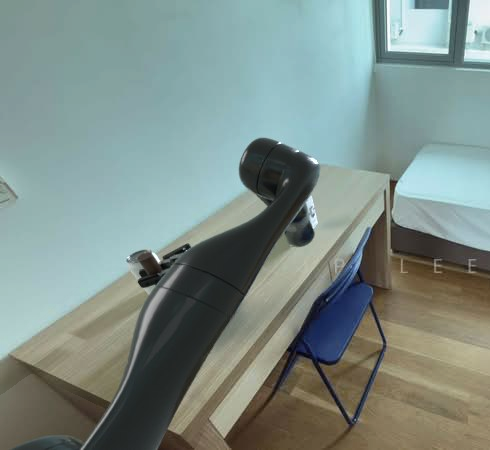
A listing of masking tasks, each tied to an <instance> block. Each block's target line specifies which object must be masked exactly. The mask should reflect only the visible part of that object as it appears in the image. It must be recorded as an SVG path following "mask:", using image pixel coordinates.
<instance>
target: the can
mask: <svg viewBox="0 0 490 450" xmlns="http://www.w3.org/2000/svg"><path fill="white" fill-rule="evenodd" d="M148 252H150V253H152V254H153V256H154V257H155V259H156V260H157V262H158V263H159V262H160V261H161V260H160V258H159V257H158V254H157V253H155V252H153V251H152V250H151V249H147V248H146V249H140V250H136V251H135V252H133V253H131V254H130V255H129V256H127V258H126V263H127V268H128V270H129V271H130V272H131V273H132V275H133V276H134V277H135V279H136V281H138V279H139V278H142V277H141V276H140V274H139V270H141V269H144V268H143V267H142V266H141V264H140V263H139V261H138V260H137V258H138V257H139V256H140V255H142V254H144V253H148ZM155 286H156V285H152V286H149V287H146V288H143V290H144V291H145V292H146V294H147V296H149V294H150V293H151V292H152V290H153V289H154V287H155Z"/></svg>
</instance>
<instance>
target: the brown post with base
mask: <svg viewBox="0 0 490 450" xmlns="http://www.w3.org/2000/svg"><path fill="white" fill-rule="evenodd" d="M137 260H138V261H139V263H140V264H141V266H142V267H143V268H144V270H145V271H146V273H147V274H148V275H151V274H154V273H157V272H158V273H159V272H161V271H163V269H162V268H161V266H160V265H159V263H158V262H157V260H156V259H155V257H154V256H153V254H152V253H150V252H148V253H144V254H142V255H140V256H139V257H138V258H137ZM155 285H157V284H155Z"/></svg>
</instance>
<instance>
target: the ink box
mask: <svg viewBox="0 0 490 450" xmlns="http://www.w3.org/2000/svg"><path fill="white" fill-rule="evenodd" d="M306 204H307V207H308V212H309V219H310V222H311V224H312V227H313V229H314V230H315V228H316V227H317V226H318V224H319V223H318V222H319V221H318V219H317V218H318V217H317V213H316V209H315V204H314V201H313V196H312V195H311V196H310V197H309V199H308V200H307V202H306Z"/></svg>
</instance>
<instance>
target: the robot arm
mask: <svg viewBox="0 0 490 450" xmlns="http://www.w3.org/2000/svg"><path fill="white" fill-rule="evenodd" d="M238 176H239V180H240V182H241V184H242V185H243V187H244V188H246V189H247V190H248V191H250V192H251V193H252V194H254V195H255V196H256V197H257V198H258V199H259V200H260V201H261V202H263V204H264V205H265V206H266V207H265V208H264V209H263V210H262V211H261V212H259V213H258V214H257V215H255V216H254V217H252V218H250V219H249V220H247V221H245V222H243V223H240V224H239V225H236V226H234V227H232V228H230V229H227V230H224V231H222V232H220V233H217V234H215V235H213V236H210V237H208V238H206V239H204V240H202V241H200V242H198V243H196V244H194V245H193V246H191V244H190V243H184V244H183V245H181V246H179V247H177V248H176V249H174V250H172V251H170V252H168V253H166V254H164V255H162V260H160V262H159V265H160V266H161V268H162V269H163V271H161V272H159V273H158V272H157V273H154V274H151V275H148V274H147V273H146V271H145V270H144V269H141V270H139V274H140V276H141V277H142V278H139V279H138V280H137V284H138V286H139V287H140V288H142V289H144V288H146V287H149V286H152V285H155V284H157V285H156V286H155V287H154V289H153V290H152V292H151V293H150V294H149V295H147V297H146V299H145V300H144V302H143V304H142V306H141V308H140V311H139V313H138V316H137V319H136V322H135V325H134V326H135V327H134V330H133V334H132V339H131V342H130V346H129V352H128V356H127V361H126V365H125V368H124V371H123V375H122V378H121V381H120V382H119V385H118V388H117V390H116V392H115V394H114V396H113V398H112V399H111V401H110V403H109V404H108V407H107V408H106V410H105V411H104V413H103V414H102V416H101V418H100V419H99V421H98V422H97V423H96V425H95V426H94V427H93V429H92V430H91V432H90V433H89V435H88V436H87V437H86V439H85V440H82V439H80V438H78V437H76V436H73V435H68V434H52V435H46V436H41V437H37V438H34V439H30V440H27V441H25V442H22V443H20V444H18V445H16V446H14V447H12V448H10V449H9V450H158V449H159V447H160V445H161V443H162V441H163V439H164V436H165V435H166V433H167V431H168V429H169V427H170V425H171V423H172V421H173V419H174V417H175V416H176V413H177V412H178V409H179V408H180V407H181V404H182V402H183V400H184V399H185V398H186V395H187V393H188V392H189V390H190V388H191V386H192V384H193V383H194V382H195V379H196V377H197V376H198V374H199V373H200V371H201V369H202V368H203V366H204V364H205V362H206V360H207V359H208V357H209V355H210V354H211V352H212V351H213V349H214V347H215V346H216V344H217V343H218V341H219V339H220V338H221V336H222V335H223V333H224V332H225V330H226V329H227V327H228V326H229V324H230V323H231V321H232V320H233V318H234V317H235V316H236V313H237V311H238V310H239V309H240V307H241V305H242V303H243V302H244V300H245V298H246V297H247V295H248V294H249V292H250V290H251V288H252V286H253V284H254V283H255V281H256V279H257V277H258V275H259V274H260V272H261V270H262V269H263V267H264V265H265V263H266V262H267V260H268V258H269V257H270V255H271V253H272V252H273V250H274V249H275V248H276V247H277V244H278V242H279V241H280V240H281V238H282V237H283V236H284V237H285V239H286V241H287V244H289V245H290V246H291V247H294V248H303V247H306V246H308V245H309V244H311V243H312V242H313V241H314V239H315V235H316V232H315V228H314V229H313V227H312V224H311V222H310V219H309V212H308V207H307V204H306V202H307V200H308V199H309V197H310V196H312V194H313V192H314V190H315V188H316V186H317V184H318V182H319V179H320V177H321V165H320V162H319V161H318V160H317V159H316V158H315V157H313V156H312V155H309V154H308V153H306V152H303V151H301V150H299V149H297V148H294V147H292V146H290V145H288V144H285V143H283V142H281V141H279V140H276V139H273V138H269V137H257V138H255V139H254V140H252V141H251V142H250V143H249V144H248V145H247V147H246V148H245V149H244V151H243V152H242V155H241V157H240V160H239V163H238Z"/></svg>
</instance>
